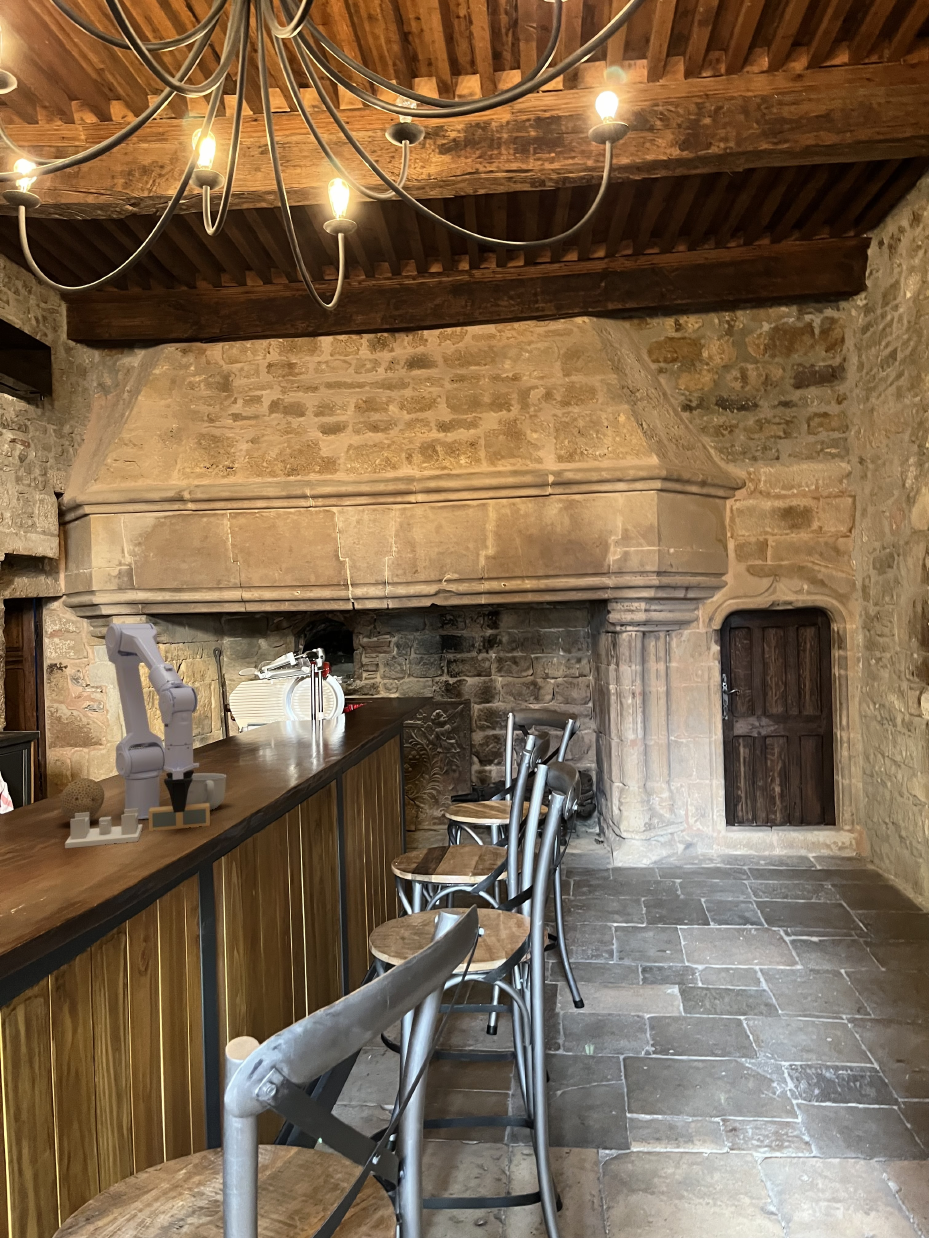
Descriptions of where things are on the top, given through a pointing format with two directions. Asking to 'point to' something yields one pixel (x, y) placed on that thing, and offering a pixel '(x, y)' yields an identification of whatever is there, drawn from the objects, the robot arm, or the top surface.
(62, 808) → the natural sponge
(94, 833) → the display stand
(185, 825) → the wooden block with panels
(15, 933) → the top surface
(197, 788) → the teacup
